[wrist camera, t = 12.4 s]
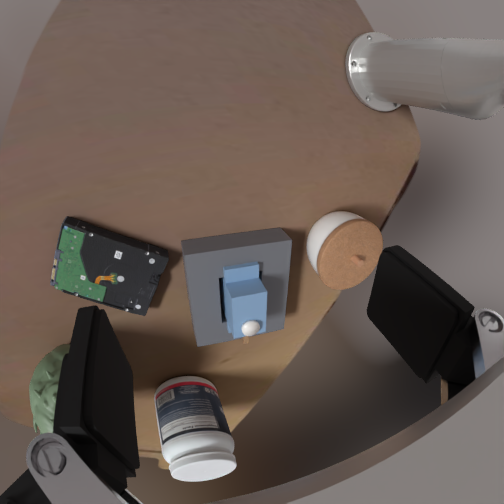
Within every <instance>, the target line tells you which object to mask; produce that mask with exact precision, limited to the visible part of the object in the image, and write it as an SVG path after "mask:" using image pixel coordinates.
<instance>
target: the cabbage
mask: <svg viewBox="0 0 504 504" xmlns="http://www.w3.org/2000/svg"><path fill="white" fill-rule="evenodd" d="M69 349H70V344H63V345H60V346H58V347H56V348H55V349H54V350H53V351H52V352H50V353H48V354H47V355H46V356H45V357H44V358H43V359H42V360H41V361H40V363H39V364H38V365H37V367H36V369H35V371H34V374H33V377H32V379H31V382H30V386H29V392H30V404H31V409H32V413H33V424H34V429H35V432H37V426H39V429H40V434H43V433H53V423H54V413H55V405H56V397H57V390H58V383H59V377H60V371H61V366H62V360H63V357H64V355H65V354H66V353H69Z"/></svg>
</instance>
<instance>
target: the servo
mask: <svg viewBox="0 0 504 504" xmlns="http://www.w3.org/2000/svg"><path fill="white" fill-rule="evenodd" d="M223 271H224V277H222V278H219V290H220V303H221V306H222V308H223V311H224V314H225V316H226V319H227V330H228V332H229V333H232V335H233V338H234V339H235V338H240V337H243V343H244V344H247V343H249V336H252V335H255V334H258V333H262V332H266V311H267V290H266V289H265V287H264V285H263V284H262V282H261V280H260V279H259V264H258V262H251V263H245V264H239V265H233V266H227V267H223Z"/></svg>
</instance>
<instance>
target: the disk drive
mask: <svg viewBox="0 0 504 504" xmlns="http://www.w3.org/2000/svg"><path fill="white" fill-rule="evenodd" d="M54 258H55V259H54V264H53V265H54V266H53V270H52V276H51V281H50V283H51V285H53V286H55V288H56V289H58V290H62V292H64V293H67V294H71V295H75V296H78V297H80V298H83V299H87V300H90V301H93V302H96V303H100V304H103V305H106V306H110V307H113V308H117V309H120V310H124V311H127V312H130V313H134V314H138V315H143V316H145V315H146V313H147V310H148V308H149V305H150V302H151V300H152V298H153V295H154V293H155V290H156V288H157V286H158V282H159V279H160V275H161V274H162V273H163V272H164V269H165V267H166V265H167V262H168V260H169V258H168V251H167V250H164V249H161V248H159V247H157V246H154V245H151V244H146V243H143V242H140V241H137V240H134V239H131V238H128V237H125V236H122V235H120V234H117V233H114V232H111V231H108V230H105V229H102V228H99V227H96V226H93V225H91V224H88V223H86V222H84V221H81V220H77V219H74V218H72V217H68V216H67V217H66V218H65V219H64V221H63V223H62V225H61V230H60V234H59V238H58V243H57V247H56V251H55V256H54Z"/></svg>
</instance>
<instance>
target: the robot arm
mask: <svg viewBox="0 0 504 504" xmlns="http://www.w3.org/2000/svg"><path fill="white" fill-rule="evenodd" d="M345 66H346V74H347V78H348V82H349V84H350V86H351V89H352V90H353V92H354V94H355V95H356V96H357V98H358V99H359V100H360V101H361V102H362V103H363V104H365V105H366V106H367V107H369V108H371V109H374V110H377V111H392V110H395V109H396V108H398V107H399V106H401V105H402V104H404V105H410V106H416V107H421V108H426V109H432V110H436V111H441V112H445V113H450V114H454V115H458V116H462V117H466V118H470V119H475V120H481V119H487V118H489V117H492V116H493V115H494V114H496V113H498V112H499V111H500V110H501V109H502V108H504V40H490V39H489V40H487V39H464V38H418V39H401V40H393V39H392V38H390V37H389V36H387V35H385V34H383V33H378V32H370V33H364V34H362V35H360V36H358V37H357V38H356V39H354V41H353V42H352V43H351V44H350V47H349V49H348V51H347V55H346V65H345ZM473 310H474V306H473V305H472V304H470V303H469V302H468V301H467V300H466V299H465V298H464V297H463V296H461V295H460V294H459V293H458V292H457V291H455V290H454V289H453V288H452V287H451V286H450V285H448V284H447V283H446V282H445V281H443V280H442V279H441V278H440V277H439V276H438V275H436V274H435V273H434V272H432V271H431V270H430V269H429V268H428V267H426V266H425V265H424V264H422V263H421V262H420V261H419V260H418V259H416V258H415V257H414V256H412V255H411V254H410V253H408V252H407V251H406V250H405V249H403V248H402V247H400V246H398V245H396V246H392V247H388V248H385V249H384V250H383V251H382V253H381V254H380V256H379V261H378V265H377V270H376V274H375V279H374V283H373V287H372V291H371V296H370V299H369V303H368V307H367V315H368V317H369V319H370V320H371V321H372V322H373V324H374V325H375V326H376V327H377V328H378V329H379V331H380V332H381V333H382V334H383V335H384V336H385V338H386V339H387V340H388V341H389V342H390V343H391V345H392V346H393V347H394V348H395V349H396V351H397V352H398V353H399V354H400V355H401V357H402V358H403V359H404V360H405V361H406V363H407V364H408V365H409V366H410V367H411V369H412V370H413V371H414V372H415V374H416V375H417V376H418V377H420V378H422V379H423V380H424V381H425V383H428V382H430V381H431V380H433V379H434V378H436V376H437V375H438V373H439V374H440V375H441V406H440V407H439V408H437V409H436V410H434V411H433V412H431V413H430V414H428V415H427V416H425V417H424V418H422V419H421V420H419V421H417V422H416V423H414V424H413V425H411V426H409V427H408V428H406V429H404V430H403V431H401V432H399V433H398V434H396V435H394V436H392V437H391V438H389V439H387V440H385V441H383V442H381V443H379V444H378V445H376V446H374V447H372V448H370V449H368V450H366V451H364V452H362V453H360V454H358V455H356V456H353V457H351V458H349V459H347V460H345V461H342V462H340V463H338V464H336V465H333V466H331V467H329V468H326V469H324V470H321V471H319V472H316V473H313V474H311V475H308V476H306V477H303V478H300V479H297V480H294V481H291V482H288V483H285V484H282V485H279V486H276V487H272V488H269V489H265V490H262V491H258V492H255V493H251V494H247V495H243V496H238V497H234V498H230V499H225V500H221V501H216V502H211V503H205V504H504V319H503V318H502V317H501V316H500V315H499V314H498V313H496V312H495V311H493V310H490V309H486V308H485V309H484V308H482V309H479V310H478V311H476V313H475V315H474V317H472V316H471V314H472V312H473ZM26 459H27V465H28V469H27V470H26V471H25V472H24V473H23V474H22V475H21V476H20V477H19V478H18V479H17V480H16V481H15V482H14V483H13V484H12V485H11V486H10V487H9V488H8V489H7V490H6V491H5V492H4V493H3V494H2V495H1V496H0V504H143V503H141V502H140V501H139V500H138V499H137V498H136V497H135V496H133V495H132V494H131V493H130V492H129V491H128V490H127V489H126V488H127V480H126V477H136V473H135V469H138V468H139V466H140V462H139V454H138V445H137V436H136V425H135V412H134V395H133V375H132V370H131V367H130V365H129V363H128V361H127V359H126V357H125V354H124V352H123V350H122V348H121V346H120V344H119V342H118V340H117V337H116V335H115V333H114V331H113V328H112V326H111V324H110V322H109V319H108V317H107V314H106V312H105V310H104V309H101V310H99V308H98V307H97V306H96V305H95V306H89V307H83V308H79V310H78V313H77V317H76V321H75V325H74V330H73V334H72V339H71V344H70V349H69V353H66V354H65V355H64V357H63V360H62V366H61V371H60V377H59V383H58V390H57V397H56V405H55V413H54V423H53V433H43V434H40V435H39V436H37V437H36V438H34V439H33V440H32V442H31V443H30V445H29V447H28V449H27V454H26Z"/></svg>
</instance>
